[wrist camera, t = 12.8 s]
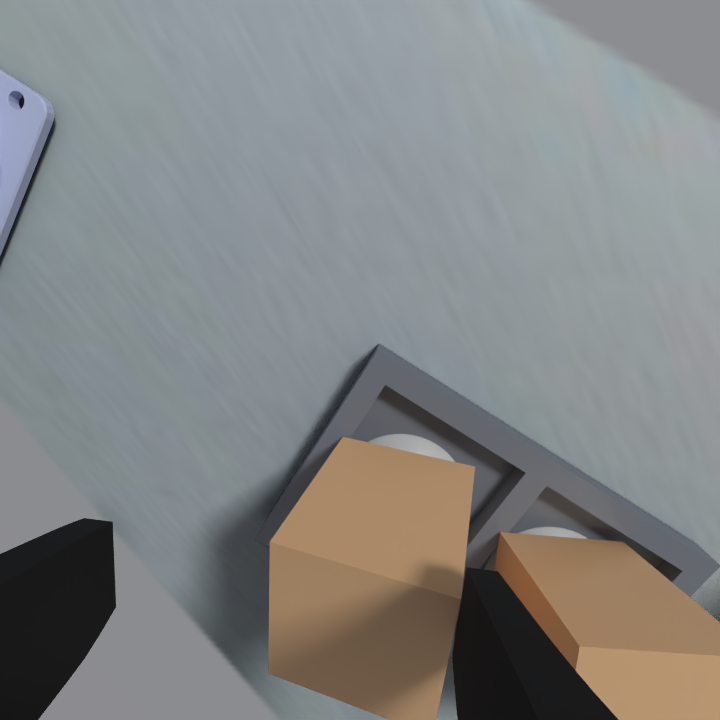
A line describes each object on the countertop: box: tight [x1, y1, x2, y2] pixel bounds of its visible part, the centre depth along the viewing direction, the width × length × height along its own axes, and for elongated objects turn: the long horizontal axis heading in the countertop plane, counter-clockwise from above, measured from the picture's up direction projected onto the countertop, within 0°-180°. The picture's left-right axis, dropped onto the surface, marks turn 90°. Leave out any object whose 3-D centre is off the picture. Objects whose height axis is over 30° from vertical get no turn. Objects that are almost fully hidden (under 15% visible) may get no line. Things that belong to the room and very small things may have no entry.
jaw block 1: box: [268, 437, 475, 720], centre depth 12 cm, size 4×4×5 cm
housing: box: [255, 344, 720, 658], centre depth 16 cm, size 13×8×1 cm, turn 58°
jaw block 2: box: [494, 532, 720, 720], centre depth 13 cm, size 4×4×5 cm
